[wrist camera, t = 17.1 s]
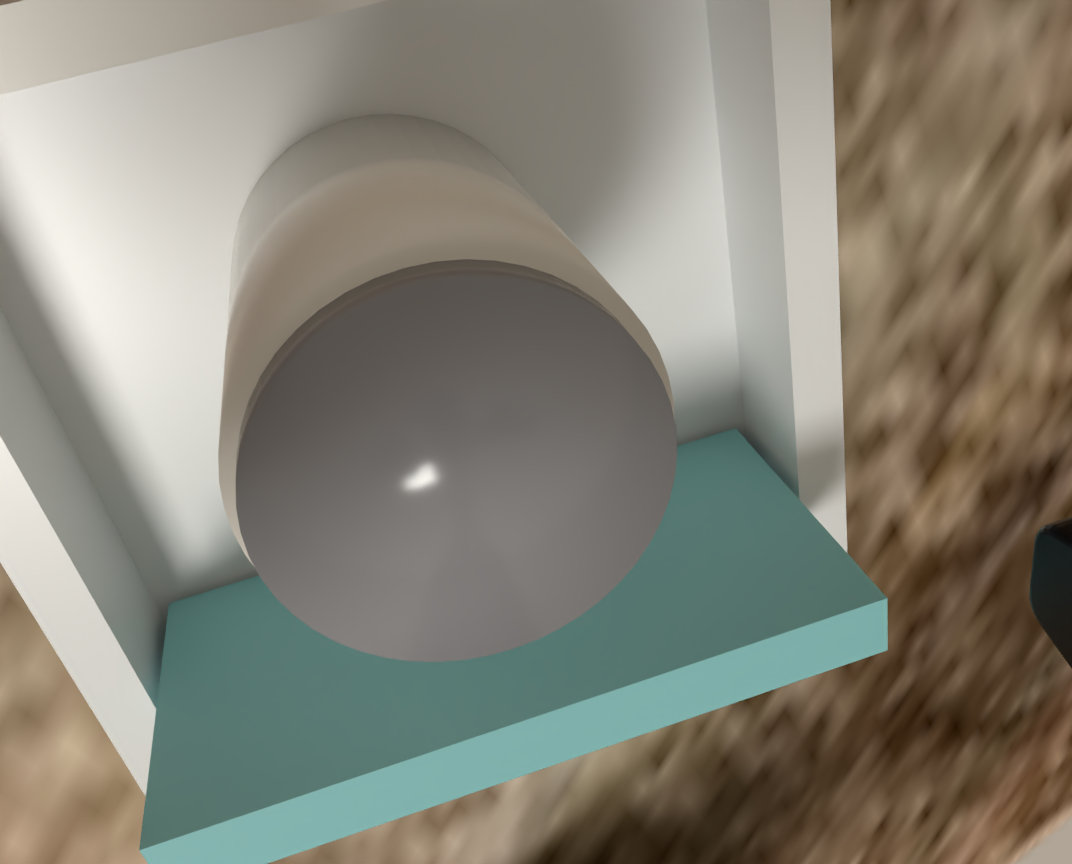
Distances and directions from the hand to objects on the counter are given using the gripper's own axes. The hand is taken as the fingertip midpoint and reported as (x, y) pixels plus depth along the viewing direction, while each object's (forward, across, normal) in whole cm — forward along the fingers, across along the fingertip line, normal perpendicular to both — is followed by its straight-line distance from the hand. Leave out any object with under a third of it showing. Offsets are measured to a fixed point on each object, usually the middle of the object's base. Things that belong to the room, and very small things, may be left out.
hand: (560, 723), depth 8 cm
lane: (+12, 0, +3) cm, 12 cm away
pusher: (+11, 0, +6) cm, 13 cm away
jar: (+11, 0, 0) cm, 11 cm away
